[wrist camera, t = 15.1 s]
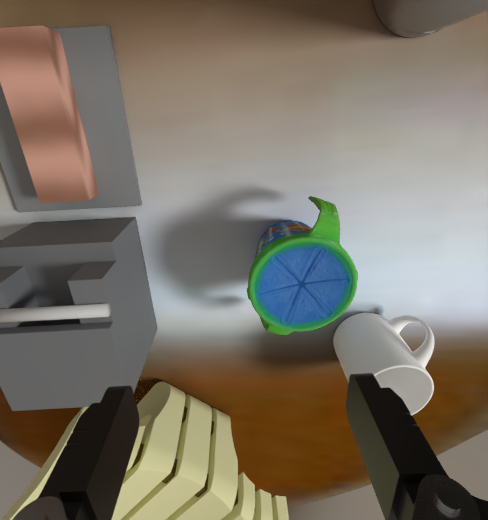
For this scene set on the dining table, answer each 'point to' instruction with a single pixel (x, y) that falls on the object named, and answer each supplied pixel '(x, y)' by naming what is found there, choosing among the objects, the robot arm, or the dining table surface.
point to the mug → (386, 355)
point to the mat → (94, 125)
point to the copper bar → (46, 114)
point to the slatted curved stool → (177, 466)
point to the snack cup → (302, 274)
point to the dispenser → (72, 312)
